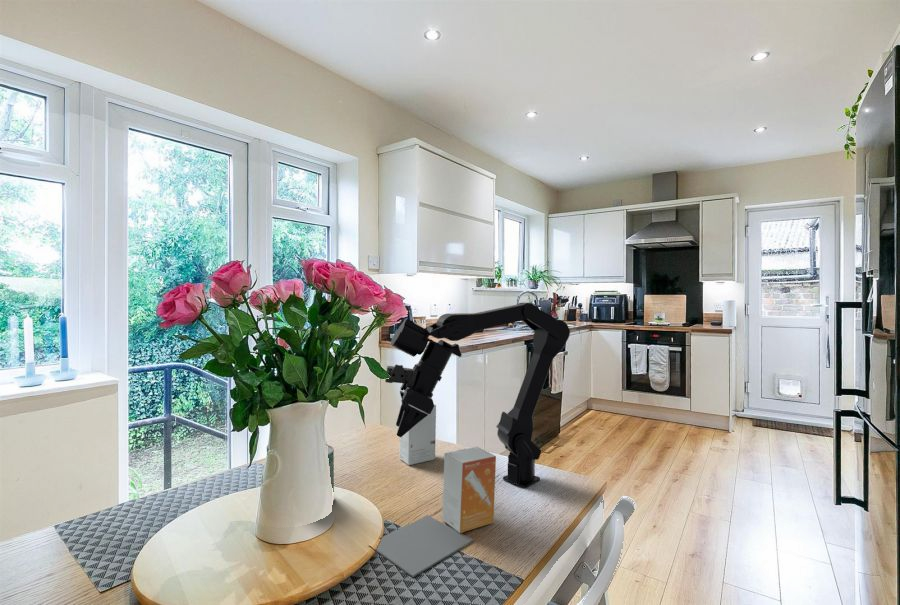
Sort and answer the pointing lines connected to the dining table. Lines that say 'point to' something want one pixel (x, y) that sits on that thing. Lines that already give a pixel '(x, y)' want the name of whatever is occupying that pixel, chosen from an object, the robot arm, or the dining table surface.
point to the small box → (468, 488)
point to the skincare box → (419, 441)
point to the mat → (421, 545)
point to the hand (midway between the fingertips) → (398, 430)
